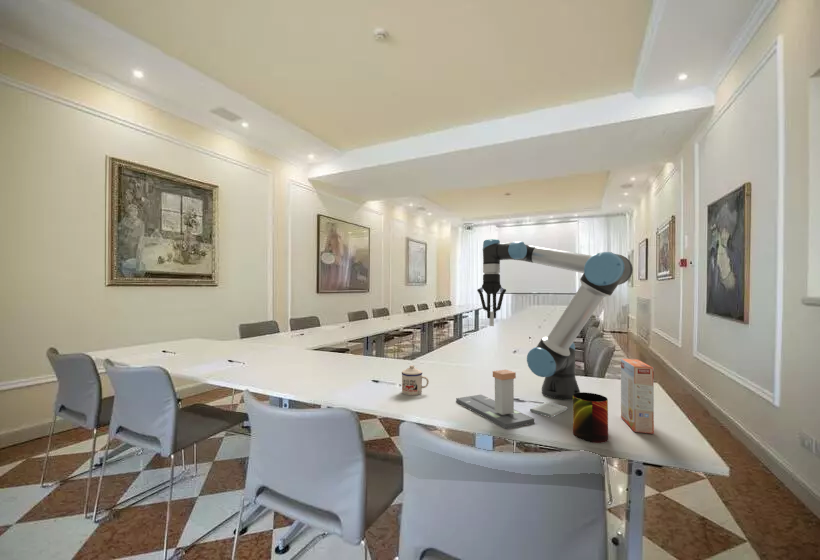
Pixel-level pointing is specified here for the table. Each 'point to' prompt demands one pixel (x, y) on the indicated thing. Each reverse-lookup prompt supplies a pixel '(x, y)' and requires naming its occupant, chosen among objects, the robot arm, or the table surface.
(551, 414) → the external hard drive
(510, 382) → the fader lever
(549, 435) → the table surface
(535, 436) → the table surface
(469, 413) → the table surface
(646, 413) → the cracker box
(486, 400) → the fader console
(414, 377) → the teacup with lid
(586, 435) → the mug
